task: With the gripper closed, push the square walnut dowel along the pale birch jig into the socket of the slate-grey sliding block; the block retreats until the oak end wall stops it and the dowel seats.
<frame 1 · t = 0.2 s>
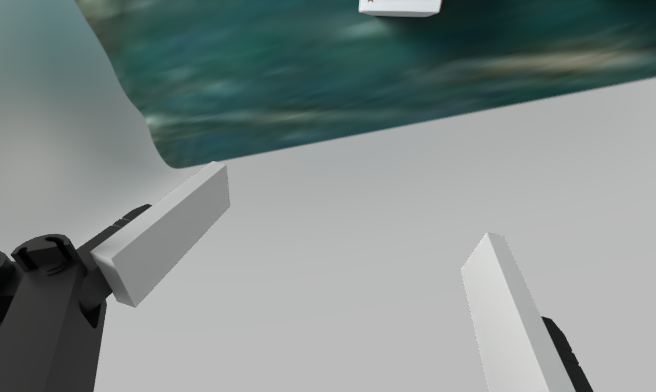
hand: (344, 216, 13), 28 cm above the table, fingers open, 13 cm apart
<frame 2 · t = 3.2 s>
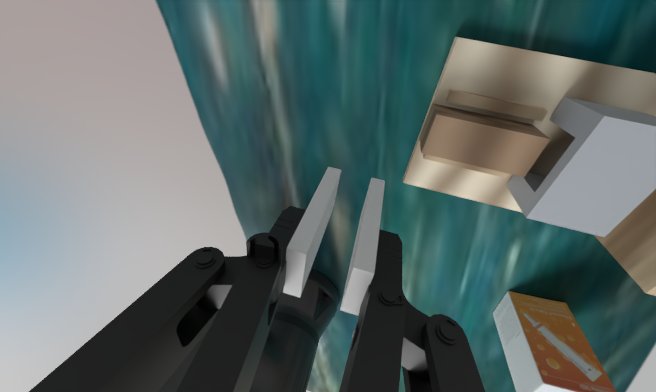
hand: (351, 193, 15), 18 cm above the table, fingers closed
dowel: (472, 132, 28), point 1 cm above the table, touching jig
carriage: (584, 167, 24), point 5 cm above the table, slide at 0.0 cm
jig: (536, 142, 28), on the table
small box: (526, 306, 42), on the table
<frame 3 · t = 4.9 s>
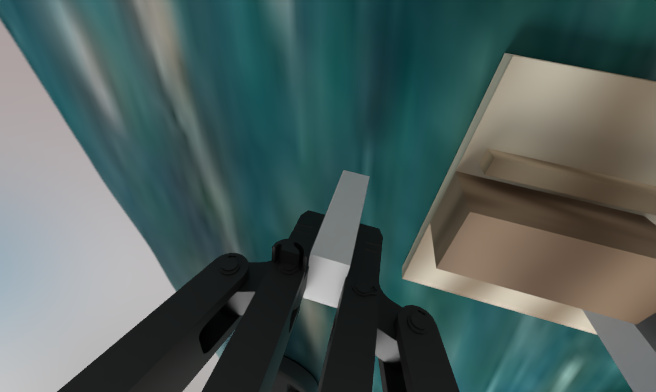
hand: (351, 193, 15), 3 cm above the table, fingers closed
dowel: (525, 219, 16), point 1 cm above the table, touching jig
jig: (637, 237, 16), on the table
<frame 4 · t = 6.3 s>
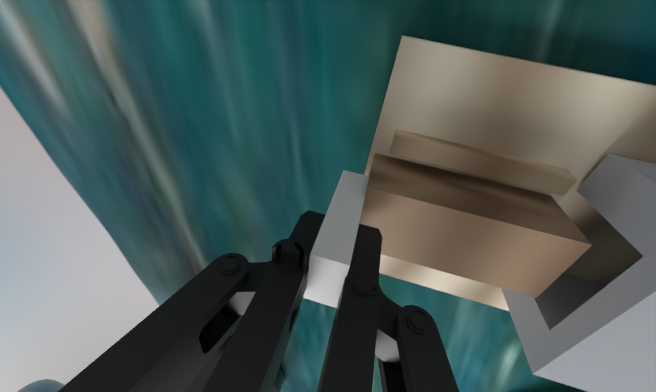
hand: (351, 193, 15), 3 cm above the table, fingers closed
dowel: (445, 200, 16), point 1 cm above the table, touching gripper
carriage: (645, 288, 13), point 5 cm above the table, slide at 0.0 cm
jig: (549, 218, 17), on the table
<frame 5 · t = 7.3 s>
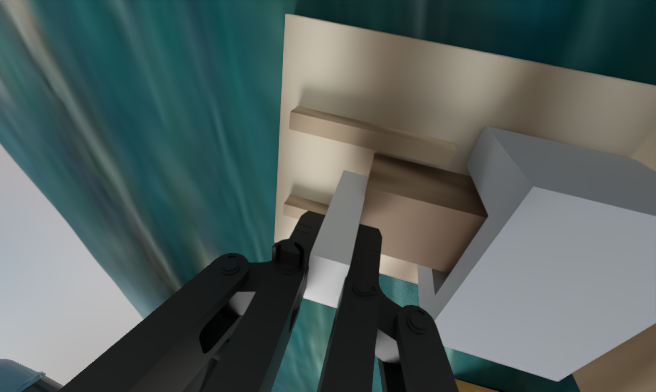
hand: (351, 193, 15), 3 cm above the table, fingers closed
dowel: (445, 200, 16), point 1 cm above the table, touching gripper
carriage: (521, 254, 13), point 5 cm above the table, slide at 0.0 cm
jig: (457, 194, 17), on the table
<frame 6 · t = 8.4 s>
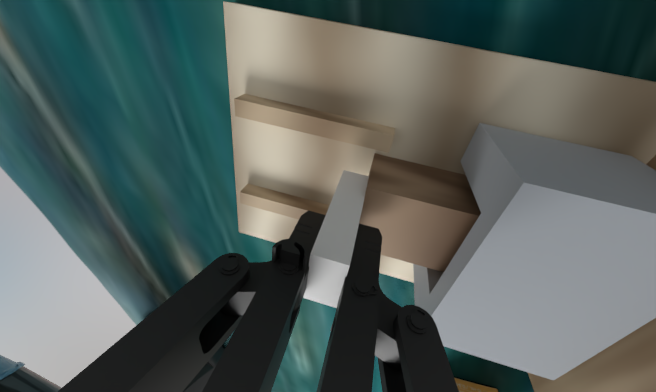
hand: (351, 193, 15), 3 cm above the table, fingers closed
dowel: (445, 201, 16), point 1 cm above the table, touching gripper, jig
carriage: (516, 252, 13), point 4 cm above the table, slide at 2.9 cm
jig: (408, 181, 17), on the table
small box: (449, 386, 31), on the table
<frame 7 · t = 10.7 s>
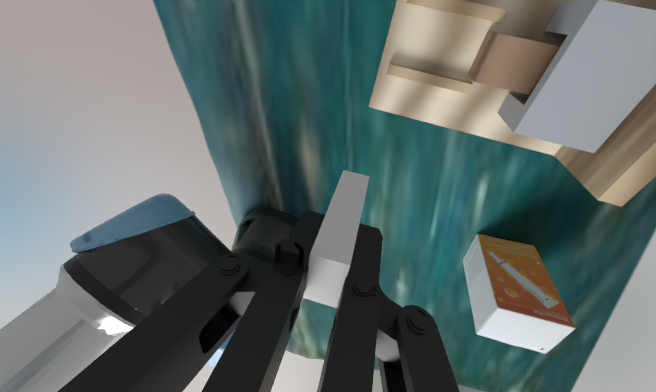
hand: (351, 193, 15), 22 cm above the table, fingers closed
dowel: (528, 64, 26), point 1 cm above the table, touching jig
carriage: (577, 78, 23), point 4 cm above the table, slide at 2.9 cm
jig: (501, 57, 27), on the table
small box: (495, 251, 41), on the table
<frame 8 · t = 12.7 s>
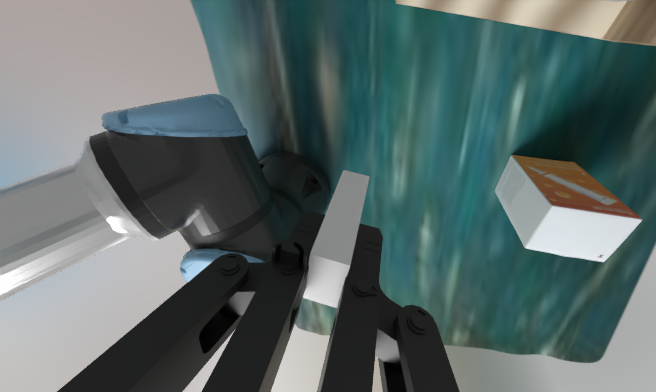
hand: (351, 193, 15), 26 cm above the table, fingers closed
small box: (530, 175, 38), on the table
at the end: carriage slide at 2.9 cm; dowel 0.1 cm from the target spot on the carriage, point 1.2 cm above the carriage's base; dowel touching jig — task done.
